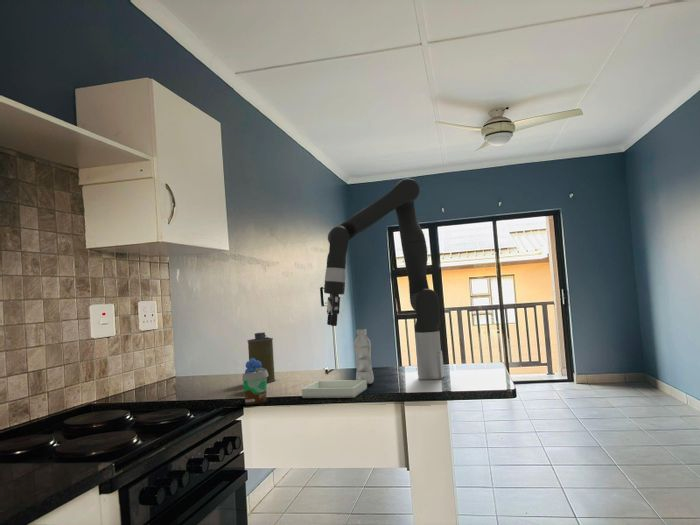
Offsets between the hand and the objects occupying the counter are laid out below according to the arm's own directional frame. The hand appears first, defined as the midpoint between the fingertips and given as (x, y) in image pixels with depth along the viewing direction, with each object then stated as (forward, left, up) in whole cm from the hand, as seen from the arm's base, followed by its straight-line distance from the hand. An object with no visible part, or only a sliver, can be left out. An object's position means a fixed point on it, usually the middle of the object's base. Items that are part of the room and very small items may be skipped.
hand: (331, 325), depth 187 cm
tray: (-3, +10, -22) cm, 25 cm away
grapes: (+31, +5, -23) cm, 38 cm away
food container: (+19, +23, -23) cm, 37 cm away
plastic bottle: (-9, -5, -23) cm, 25 cm away
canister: (+38, -15, -23) cm, 46 cm away
